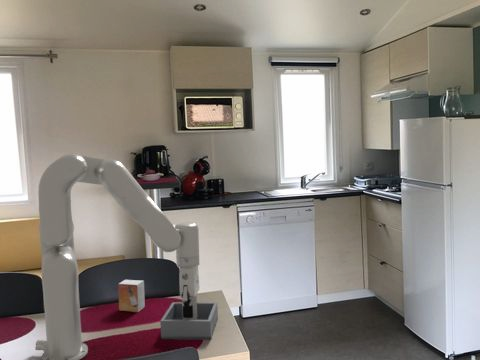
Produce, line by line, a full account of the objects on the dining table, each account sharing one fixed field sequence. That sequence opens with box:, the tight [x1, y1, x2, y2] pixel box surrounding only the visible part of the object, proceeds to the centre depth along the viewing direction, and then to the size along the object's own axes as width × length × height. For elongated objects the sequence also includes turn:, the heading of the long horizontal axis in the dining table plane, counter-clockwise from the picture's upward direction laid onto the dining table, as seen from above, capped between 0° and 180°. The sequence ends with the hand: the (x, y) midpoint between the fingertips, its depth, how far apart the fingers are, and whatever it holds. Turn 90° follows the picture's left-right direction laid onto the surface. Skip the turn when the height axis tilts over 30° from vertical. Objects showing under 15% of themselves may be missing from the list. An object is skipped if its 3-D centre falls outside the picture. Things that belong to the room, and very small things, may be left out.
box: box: [159, 301, 219, 341], centre depth 142 cm, size 16×16×6 cm
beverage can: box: [181, 295, 198, 320], centre depth 141 cm, size 5×5×12 cm
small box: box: [117, 279, 146, 313], centre depth 161 cm, size 8×6×10 cm
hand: (189, 313), depth 141 cm, fingers closed on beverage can, 4 cm apart
